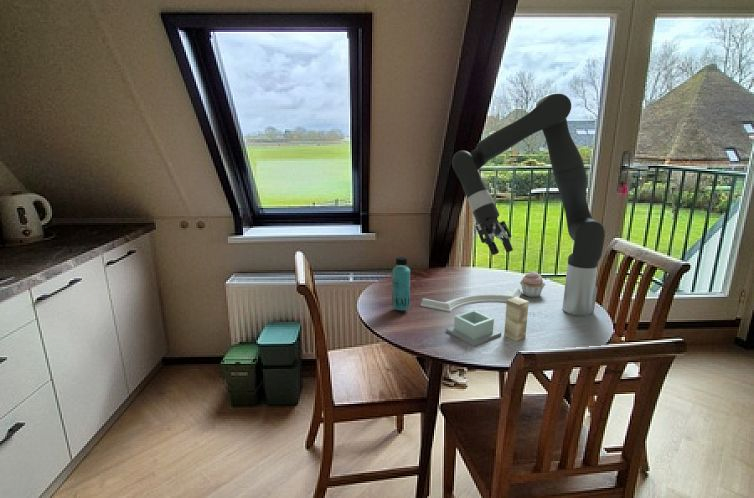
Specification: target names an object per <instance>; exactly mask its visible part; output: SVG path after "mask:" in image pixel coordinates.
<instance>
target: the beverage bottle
mask: <svg viewBox="0 0 754 498" xmlns="http://www.w3.org/2000/svg"><path fill="white" fill-rule="evenodd" d="M408 264H409V263H408V258H407V257H406V256H397V257H396V258H395V265H396V266H394V268H392V279H391V280H392V282H391V284H392V294H391V300H392V301H391V303H392V308H393V309H394V310H398V311H406V310H409V308H410V307H411V269H410V268H409V267H408V266H407V265H408Z"/></svg>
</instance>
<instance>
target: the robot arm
mask: <svg viewBox="0 0 754 498" xmlns="http://www.w3.org/2000/svg"><path fill="white" fill-rule="evenodd" d="M571 111H572V102H571V99H570V98H569V97H568V96H567V95H566V94H564V93H561V92H553V93H549V94H546V95H544V96H542V97H541V98H540V99H539V101H538V102H537V104H536V106H535V108H533V109H532V110H531V111H529V112H527V114H525V115H524V116H522V117H520V118H519V119H517V120H515V121H514V122H511V123H510V124H507V125H506V126H504V127H501V128H500V129H498V130H496V131H494V132H493V133H490V135H488V136H486V137H485V138H484V139H482V140H480V141H478V143H477V144H476V147H475V148H473V150H471V152H469V151H467V150H458V151H457V152H456V153H454V155H453V156H452V159H451V165H452V166H451V167H452V168H453V170H454V172H455V175H456V176H457V179H458V180H459V182H460V183H461V186H462V189H463V192H464V194H465V196H466V199H467V201H468V204H469V205H468V206H469V207H470V210H471V212H472V215H473V216H474V219H475V221H476V226H475V229H476V231H477V234H478V236H479V238H480V242H481V243H482V244H486V245H487V246H488V249H489V251H490V253H491V255H492V256H496V255H497V254H499V253H500V251H499V249H498V246H497V243H496V242H495V237H496V239H499V241H501V242H502V246H503V248H504V250H505V252H506V253H510V252H513V250H514V248H513V246H512V244H511V241H510V239H511V238H512V237H513V236H512V234H511V232H510V230H509V228H508V225H507V223H506V222H505V220H502V221H499V220H498V219H499V218H500V213H499V210H498V208H497V205H496V204H495V201H494V199H493V196H492V195H491V194H490V192H489V190H488V188H487V186H486V183H485V182H484V181H485V180H483V178H482V176H481V174H480V173H479V170H480V169H481V168H482V167H484V166H485V165H486V164H487V163H488V162H489V161H491V160H493V159H495V158H496V157H498V156H499V155H501V154H503V153H505V152H506V151H508V150H509V149H510V148H512V147H514V146H515V145H517V144H519V143H520V142H521V141H524V140H525V139H526V138H528V137H530V136H532V135H533V134H535V133H537V132H540V131H542V133H543V136H544V139H545V141H546V142H545V143H546V144H547V146H546V147H547V151H548V157H549V160H550V166H551V169H552V173H553V177H554V181H555V184H556V187H557V191H558V193H559V196H560V199H561V202H562V205H563V207H564V208H563V209H564V213H565V219H566V226H567V231H568V235H569V237H570V238H571V240H572V241H574V242H573V249H572V253H570V254H569V255H568V257H567V264H566V274H565V275H566V276H565V283H564V291H563V300H562V306H561V307H562V311H564V312H565V313H567V314H569V315H573V316H578V317H579V316H580V317H585V316H590V315H592V314H594V312H595V308H596V307H595V306H596V300H597V294H598V293H597V292H598V287H597V286H596V280H597V271H598V265H599V262H600V260H601V258H602V254H603V250H604V244H605V237H606V236H605V235H606V231H605V227H604V225H602V223H601V222H599V221H598V220H595V219H593V217H592V215H591V212H590V209H589V206H588V203H587V190H588V188H587V187H588V179H587V172H586V167H585V163H584V160H583V158H582V156H581V153H580V151H579V149H578V147H577V146H576V143H575V141H574V140H573V138H572V136H571V133H570V130H569V125H568V121H567V118H568V117H569V115H570V113H571Z"/></svg>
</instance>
